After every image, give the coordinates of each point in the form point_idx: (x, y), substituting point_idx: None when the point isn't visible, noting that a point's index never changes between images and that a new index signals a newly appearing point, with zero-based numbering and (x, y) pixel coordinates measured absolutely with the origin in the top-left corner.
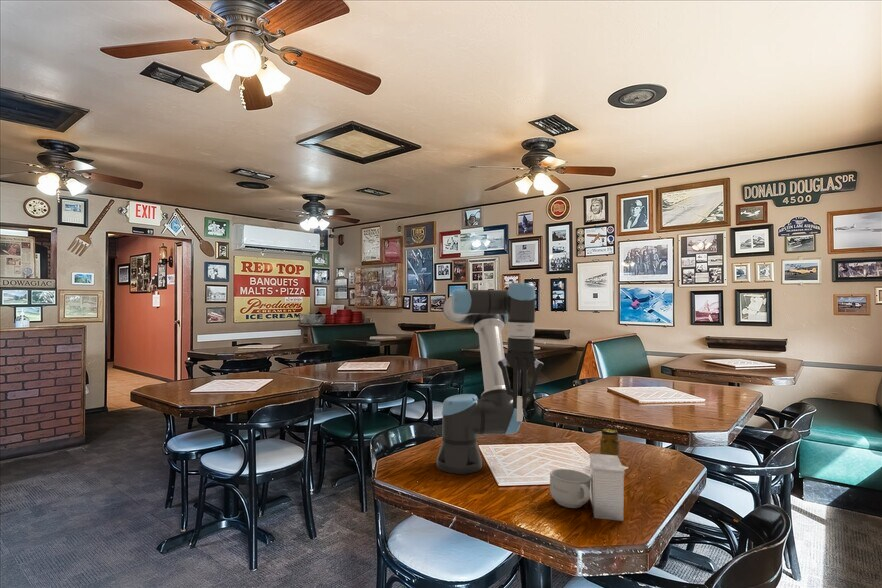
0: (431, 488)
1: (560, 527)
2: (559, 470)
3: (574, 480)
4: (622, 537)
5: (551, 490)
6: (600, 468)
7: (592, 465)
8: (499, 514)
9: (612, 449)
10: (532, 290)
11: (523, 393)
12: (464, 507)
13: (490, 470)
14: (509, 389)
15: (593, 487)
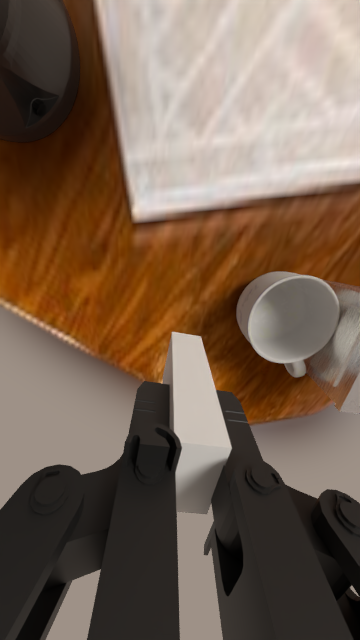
0: None
1: (223, 384)
2: (281, 282)
3: (305, 280)
4: (300, 401)
5: (238, 320)
6: (354, 409)
7: (350, 379)
8: (133, 354)
9: None
10: None
11: (228, 575)
12: (70, 335)
13: (110, 93)
14: (37, 630)
15: (316, 369)
